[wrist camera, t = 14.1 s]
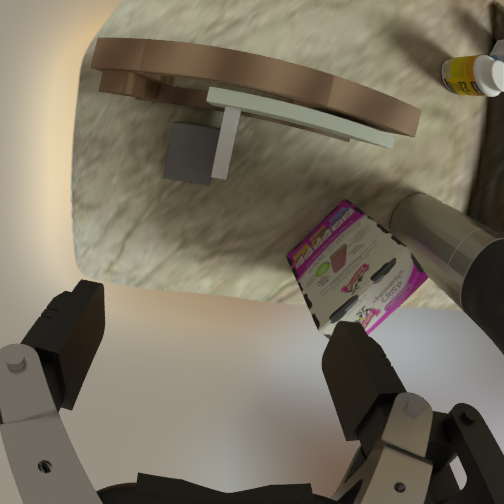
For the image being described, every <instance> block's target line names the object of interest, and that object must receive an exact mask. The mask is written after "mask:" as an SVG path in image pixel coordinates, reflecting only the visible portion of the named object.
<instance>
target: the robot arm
mask: <svg viewBox="0 0 504 504" xmlns="http://www.w3.org/2000/svg"><path fill="white" fill-rule="evenodd" d="M390 233H391V234H392V235H393V236H395V237H396V238H397V239H399V240H400V241H401V242H402V243H403V244H405V245H406V246H407V247H408V248H409V249H410V251H411V252H412V254H413V255H414V256H415V258H416V259H417V261H418V262H419V263H420V265H421V267H422V268H423V270H424V271H425V273H426V274H427V275H428V277H429V278H430V279H431V280H432V281H433V282H435V283H436V284H437V285H438V286H439V287H440V288H441V289H442V290H443V291H444V292H445V293H446V294H447V295H448V296H449V297H450V298H451V299H452V300H453V301H454V302H455V303H456V304H457V305H458V306H459V307H460V308H461V309H462V310H463V311H464V312H465V313H466V314H467V315H468V316H469V317H470V318H471V319H472V320H473V321H474V322H475V323H476V324H477V325H478V326H479V327H480V328H481V329H482V330H483V331H484V332H485V333H486V334H487V335H488V336H489V338H490V339H491V340H492V341H493V342H494V343H495V345H496V346H497V347H498V348H499V350H500V351H501V352H502V353H503V354H504V237H503V236H502V235H500V234H499V233H497V232H495V231H494V230H492V229H490V228H488V227H486V226H485V225H483V224H481V223H480V222H478V221H476V220H474V219H473V218H471V217H469V216H467V215H465V214H464V213H462V212H460V211H458V210H456V209H454V208H453V207H451V206H449V205H447V204H445V203H443V202H441V201H440V200H438V199H436V198H434V197H432V196H430V195H427V194H424V193H417V194H413V195H410V196H408V197H407V198H405V199H404V200H403V201H402V202H401V203H400V204H399V205H398V206H397V208H396V209H395V211H394V213H393V216H392V219H391V223H390ZM104 308H105V306H104V286H103V284H102V283H97V282H92V281H88V280H81V281H80V282H79V283H78V284H77V286H76V287H75V288H74V290H73V291H72V292H68V291H64V292H63V293H61V294H59V295H58V296H56V297H54V298H53V299H52V301H51V302H50V303H49V305H48V306H47V309H45V310H44V311H43V313H42V314H41V317H39V318H38V319H37V321H36V322H35V324H34V325H33V326H32V328H31V329H30V330H29V332H28V333H27V335H26V336H25V337H24V339H23V340H22V342H21V343H20V344H11V345H8V346H5V347H3V348H1V349H0V431H1V435H2V439H3V443H4V447H5V450H6V454H7V457H8V460H9V464H10V467H11V470H12V473H13V476H14V479H15V482H16V485H17V487H18V490H19V493H20V496H21V498H22V501H23V503H24V504H504V455H503V453H502V451H501V449H500V447H499V446H498V444H497V442H496V440H495V438H494V437H493V435H492V434H491V431H490V430H489V428H488V426H487V425H486V423H485V421H484V419H483V418H482V416H481V415H480V413H479V412H478V411H477V410H476V409H475V408H474V407H472V406H470V405H468V404H465V403H459V404H456V405H455V406H454V407H453V408H452V410H451V411H450V412H449V413H448V414H447V413H441V412H435V411H432V408H431V406H430V405H429V403H428V402H427V401H426V400H425V399H424V398H422V397H420V396H419V395H417V394H414V393H409V392H407V391H406V390H405V388H404V386H403V384H402V382H401V381H400V379H399V377H398V375H397V373H396V372H395V370H394V368H393V366H391V363H390V361H389V360H388V358H386V354H385V353H384V351H383V349H382V348H381V346H380V345H379V344H378V343H377V342H376V341H375V340H374V339H372V338H371V337H369V336H368V335H367V333H366V331H365V329H364V328H363V326H362V324H361V323H359V322H350V321H339V322H338V323H337V324H336V326H335V328H334V330H333V333H332V335H331V337H330V340H329V342H328V344H327V347H326V349H325V351H324V354H323V357H322V371H323V374H324V376H325V379H326V382H327V385H328V388H329V391H330V394H331V397H332V400H333V403H334V406H335V409H336V412H337V415H338V418H339V421H340V424H341V427H342V430H343V433H344V435H345V439H346V441H354V440H360V443H361V445H360V446H359V448H358V449H357V451H356V453H355V455H354V457H353V459H352V461H351V463H350V465H349V467H348V469H347V471H346V473H345V475H344V477H343V479H342V481H341V482H340V484H339V486H338V488H337V489H336V491H335V492H334V494H333V495H332V496H331V498H327V497H324V496H320V495H317V494H313V493H312V488H311V484H310V483H308V484H288V485H269V486H264V487H259V488H254V489H250V490H245V491H239V492H234V493H224V492H220V491H216V490H213V489H210V488H206V487H203V486H200V485H197V484H194V483H191V482H188V481H185V480H182V479H173V478H167V477H160V476H154V475H149V474H143V473H138V477H137V483H124V484H117V485H113V486H109V487H106V488H103V489H100V490H98V491H95V489H94V487H93V486H92V484H91V482H90V480H89V479H88V476H87V474H86V473H85V471H84V469H83V467H82V465H81V463H80V461H79V459H78V457H77V454H76V452H75V450H74V448H73V446H72V444H71V441H70V439H69V437H68V435H67V432H66V430H65V428H64V425H63V423H62V420H61V418H60V415H59V410H60V408H61V407H62V408H65V409H68V410H72V409H73V407H74V404H75V401H76V399H77V396H78V394H79V392H80V389H81V387H82V384H83V382H84V380H85V377H86V375H87V372H88V370H89V368H90V365H91V363H92V361H93V359H94V356H95V354H96V351H97V349H98V347H99V345H100V343H101V340H102V338H103V335H104V329H105V309H104ZM457 456H458V457H459V459H460V461H461V463H462V466H463V468H464V470H465V472H466V475H467V482H466V485H465V487H464V488H463V489H462V490H461V491H460V489H459V486H458V484H457V481H456V479H455V477H454V474H453V472H452V470H451V467H450V465H449V464H450V463H451V462H452V461H453V460H454V459H455V458H456V457H457Z"/></svg>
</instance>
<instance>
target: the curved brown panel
mask: <svg viewBox="0 0 504 504" xmlns="http://www.w3.org/2000/svg"><path fill="white" fill-rule="evenodd" d="M91 68H93V69H96V70H100V71H103V73H102V78H101V83H100V88H99V91H100V92H107V93H114V94H120V95H127V96H132V97H136V98H135V99H139V100H148V101H157V102H165V103H173V104H180V105H187V106H194V107H200V108H206V109H212V110H218V111H223V112H225V108H221V107H215V106H212V105H211V104H209V103H208V102H207V101H206V100H207V96H208V92H207V91H201V90H194V89H187V88H180V87H172V85H173V80H174V77H182V78H190V79H197V80H203V81H209V82H215V83H221V84H227V85H232V86H237V87H243V88H247V89H252V90H257V91H261V92H266V93H270V94H275V95H279V96H283V97H287V98H291V99H292V101H291V104H295V105H299V106H302V107H306V108H310V109H313V110H317V111H320V112H324V113H327V114H330V115H334V116H337V117H340V118H343V119H347V120H350V121H353V122H356V123H359V124H362V125H365V126H368V127H370V128H373V129H376V130H379V131H383V132H389V133H395V134H400V135H406V136H411V137H415V134H416V130H417V126H418V122H419V118H420V113H421V109H419V108H416V107H414V106H412V105H410V104H407V103H405V102H403V101H401V100H398V99H396V98H394V97H391V96H389V95H386V94H384V93H381V92H379V91H376V90H374V89H371V88H368V87H366V86H363V85H360V84H358V83H355V82H352V81H349V80H346V79H343V78H340V77H337V76H334V75H331V74H328V73H325V72H321V71H318V70H315V69H311V68H308V67H304V66H301V65H297V64H294V63H290V62H286V61H282V60H278V59H274V58H270V57H265V56H261V55H256V54H251V53H247V52H241V51H236V50H231V49H225V48H219V47H213V46H206V45H199V44H192V43H184V42H174V41H164V40H151V39H135V38H98V39H97V43H96V47H95V51H94V55H93V60H92V64H91ZM240 115H244V116H249V117H254V118H258V119H263V120H267V121H272V122H276V123H280V124H285V125H289V126H293V127H297V128H301V129H305V130H308V131H312V132H316V133H319V134H323V135H327V136H330V137H334V138H337V139H340V140H344V141H347V142H349V140H350V138H345V137H342V136H339V135H335V134H332V133H328V132H325V131H321V130H318V129H314V128H310V127H307V126H303V125H299V124H295V123H291V122H287V121H283V120H279V119H274V118H270V117H266V116H261V115H257V114H252V113H247V112H242V111H241V114H240Z"/></svg>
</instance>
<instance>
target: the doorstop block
mask: <svg viewBox="0 0 504 504" xmlns="http://www.w3.org/2000/svg"><path fill="white" fill-rule="evenodd" d="M220 130H221V128H215V127H210V126H204V125H198V124H191V123H185V122H173V125H172V130H171V136H170V141H169V147H168V153H167V159H166V165H165V171H164V178H165V179H172V180H178V181H184V182H190V183H196V184H202V185H207V186H210V182H211V178H212V177H211V175H212V170H213V165H214V159H215V154H216V150H217V145H218V140H219V135H220Z"/></svg>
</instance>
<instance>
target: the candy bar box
mask: <svg viewBox="0 0 504 504" xmlns="http://www.w3.org/2000/svg"><path fill="white" fill-rule="evenodd" d="M286 257H287V260H288V262H289V265H290V267H291V269H292V271H293V273H294V276H295V278H296V280H297V283H298V285H299V287H300V289H301V292H302V294H303V296H304V299H305V301H306V304H307V306H308V308H309V310H310V312H311V315H312V317H313V320H314V322H315V324H316V327H317V329H318V331H319V332H320V333H322V334H323V335H325V336H326V337H327V338H329V339H330V337H331V335H332V333H333V330H334V328H335V326H336V324H337V323H338V322H339V321H350V322H359V323H361V324H362V326H363V328H364V329H365V331H366V333H367V335H368V334H369V333H370V332H372V331H373V330H374V329H375V328H376V327H377V326H378V325H379V324H381V323H382V322H383V321H384V320H385V319H386V318H387V317H388V316H389V315H390V314H392V312H394V311H395V310H396V309H397V308H398V307H399V306H400V305H401V304H402V303H403V302H404V301H405V300H406V299H407V298H408V297H409V296H410V295H411V294H413V293H414V292H415V291H416V290H417V289H418V288H419V287H420V286H421V285H422V284H423V283H424V282H425V281H426V280H427V279H428V275H427V274H426V273H425V271H424V270H423V268H422V267H421V265H420V263H419V262H418V261H417V259H416V258H415V256H414V255H413V254H412V252H411V251H410V249H409V248H408V247H407V246H406V245H405V244H403V243H402V242H401V241H400V240H399V239H397V238H396V237H395V236H393V235H392V234H391V233H390V232H388V231H387V230H386V229H384V228H383V227H382V226H381V225H379V224H378V223H377V222H375V221H374V220H373V219H372V218H370V217H369V216H368V215H366V214H365V213H364V212H362V211H361V210H360V209H359V208H357V207H356V206H354V205H353V204H352V203H351V202H349V201H348V200H346V199H344V200H343V201H342V202H341V203H340V204H339V205H338V206H337V207H336V208H335V209H334V210H333V211H332V212H331V213H330V214H329V215H328V216H327V217H326V218H325V219H324V220H323V221H322V222H321V223H320V224H319V225H318V226H317V227H316V228H315V229H314V230H313V231H312V232H311V233H310V234H309V235H308V236H307V237H306V238H305V239H304V240H303V241H302V242H301V243H300V244H299V245H298V246H296V247H295V248H294V249H293V250H292V251H291V252H290V253H289V254H288V255H287V256H286Z"/></svg>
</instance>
